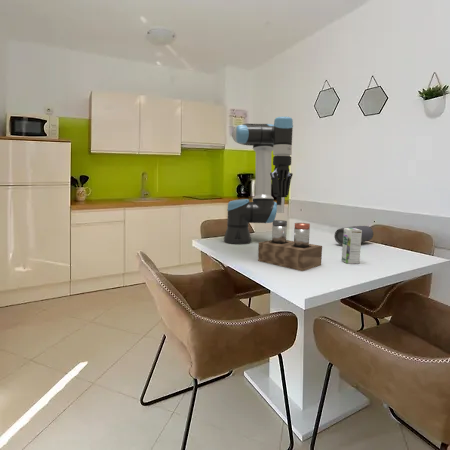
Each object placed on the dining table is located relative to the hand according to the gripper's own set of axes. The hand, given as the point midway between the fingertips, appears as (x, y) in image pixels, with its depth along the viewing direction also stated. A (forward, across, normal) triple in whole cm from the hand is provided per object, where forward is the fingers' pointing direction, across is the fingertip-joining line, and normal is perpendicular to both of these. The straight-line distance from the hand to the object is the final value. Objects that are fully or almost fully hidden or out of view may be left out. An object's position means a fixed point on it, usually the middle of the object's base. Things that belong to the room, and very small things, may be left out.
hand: (280, 212), depth 146 cm
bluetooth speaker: (+21, +62, -5) cm, 66 cm away
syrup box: (+21, +21, -22) cm, 37 cm away
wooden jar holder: (+21, 0, -5) cm, 21 cm away
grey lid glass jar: (+14, 0, 0) cm, 14 cm away
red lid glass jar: (+14, 0, -11) cm, 17 cm away
